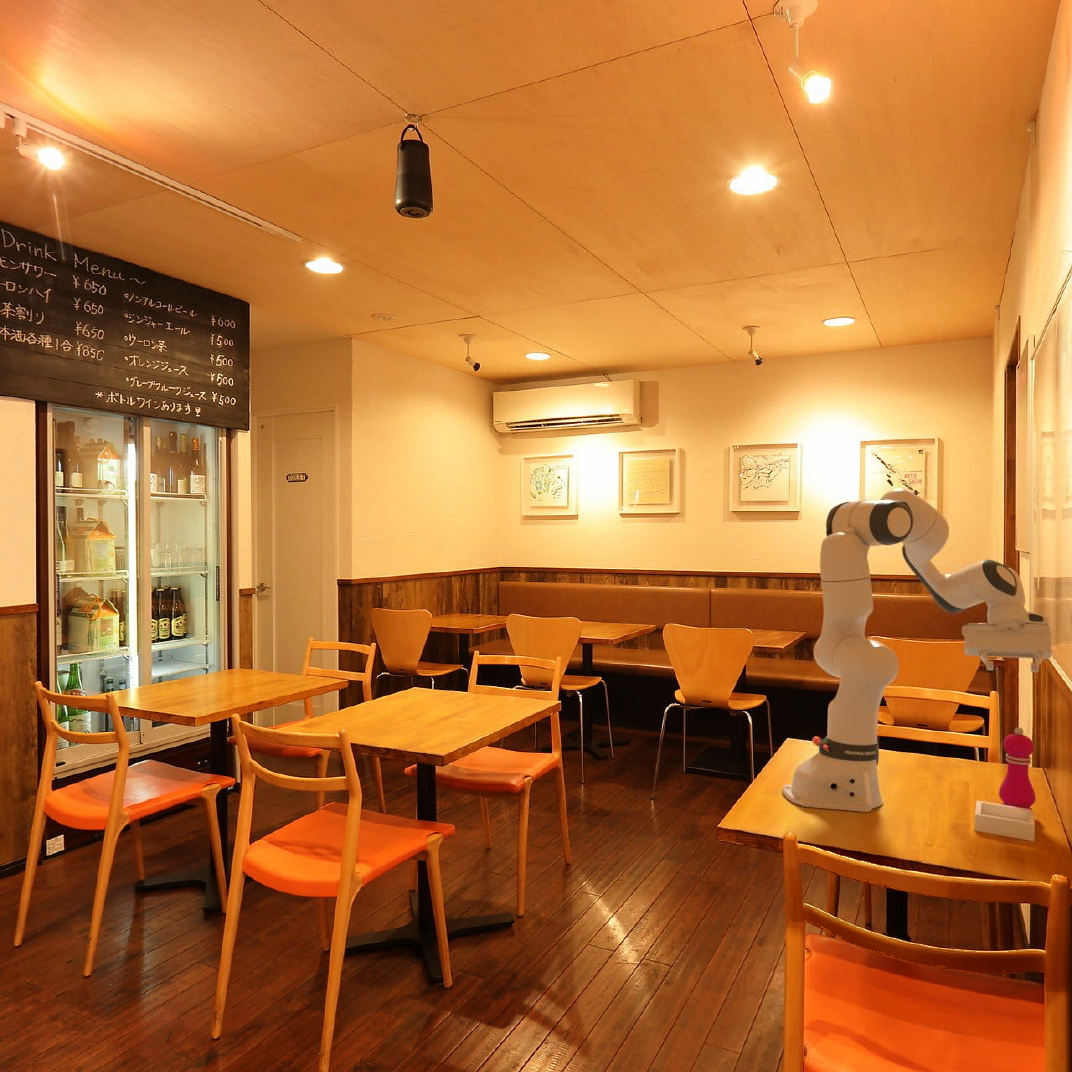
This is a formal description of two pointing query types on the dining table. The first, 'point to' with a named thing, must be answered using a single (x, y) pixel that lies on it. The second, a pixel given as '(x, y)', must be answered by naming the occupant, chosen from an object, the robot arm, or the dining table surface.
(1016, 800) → the pepper mill
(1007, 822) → the mill holder
